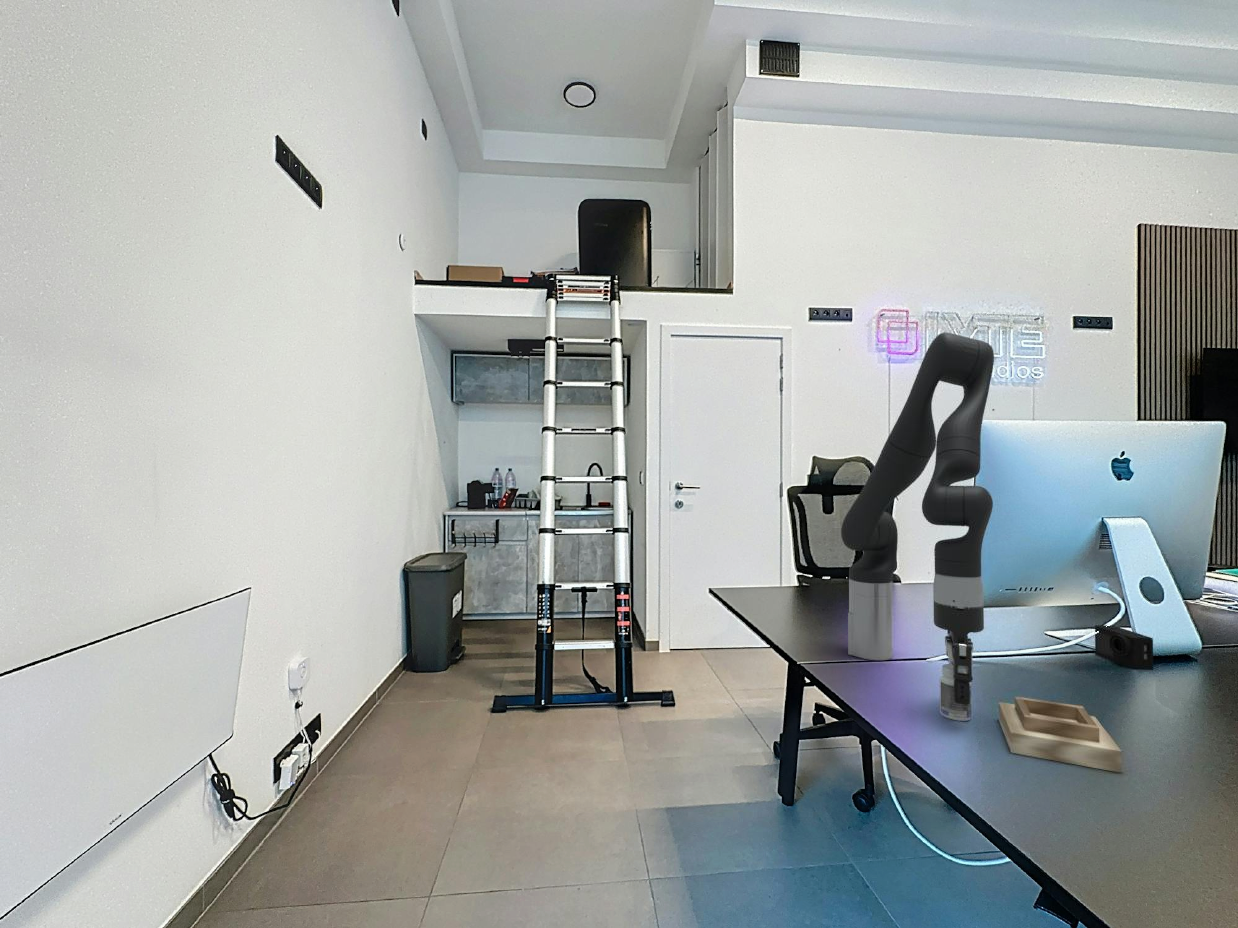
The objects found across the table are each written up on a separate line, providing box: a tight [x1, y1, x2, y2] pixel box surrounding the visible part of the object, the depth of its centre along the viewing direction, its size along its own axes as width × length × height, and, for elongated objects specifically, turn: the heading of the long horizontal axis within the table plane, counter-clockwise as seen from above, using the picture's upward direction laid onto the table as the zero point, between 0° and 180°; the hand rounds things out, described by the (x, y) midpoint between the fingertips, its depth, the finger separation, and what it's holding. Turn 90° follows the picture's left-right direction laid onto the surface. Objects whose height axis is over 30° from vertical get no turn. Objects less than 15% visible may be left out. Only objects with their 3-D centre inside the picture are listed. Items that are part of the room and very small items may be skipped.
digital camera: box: [1094, 624, 1154, 671], centre depth 130 cm, size 10×5×7 cm, turn 179°
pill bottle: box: [939, 663, 972, 722], centre depth 100 cm, size 5×5×8 cm
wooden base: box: [998, 696, 1123, 774], centre depth 90 cm, size 13×13×5 cm
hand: (959, 694), depth 100 cm, fingers open, 8 cm apart
